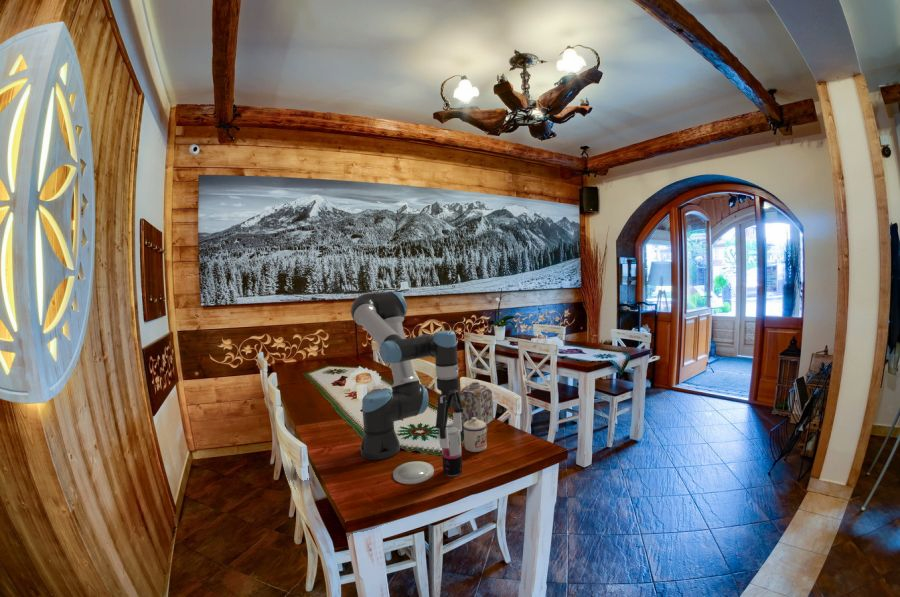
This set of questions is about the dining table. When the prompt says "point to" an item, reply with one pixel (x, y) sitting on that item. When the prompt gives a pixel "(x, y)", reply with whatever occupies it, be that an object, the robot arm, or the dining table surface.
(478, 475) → the dining table surface
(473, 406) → the decorative jar
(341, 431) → the dining table surface
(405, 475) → the plate
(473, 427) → the teacup with lid
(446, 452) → the beverage can
